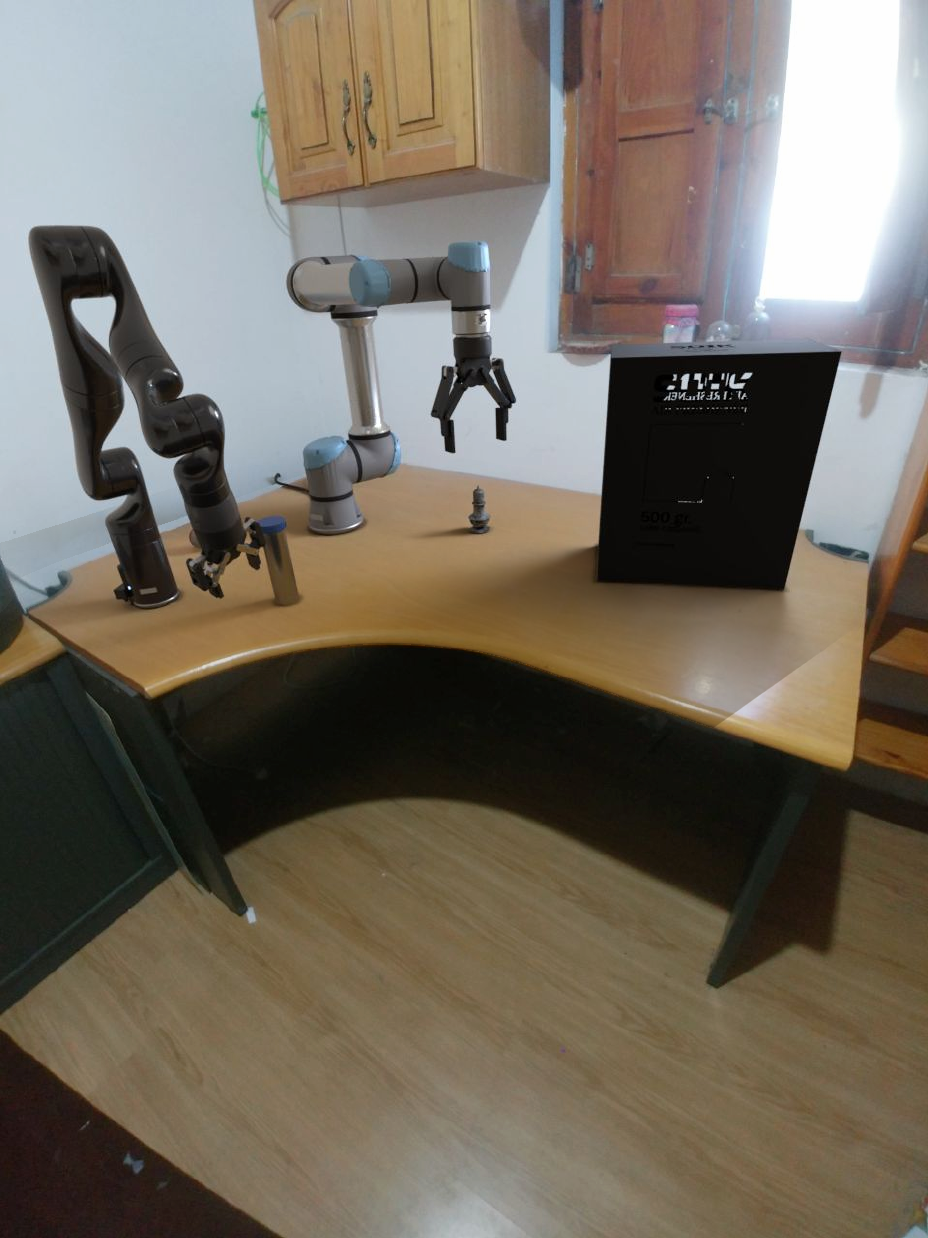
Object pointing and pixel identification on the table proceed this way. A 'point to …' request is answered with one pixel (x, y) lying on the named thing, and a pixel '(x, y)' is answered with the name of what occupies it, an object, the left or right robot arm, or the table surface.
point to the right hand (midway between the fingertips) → (476, 445)
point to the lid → (272, 524)
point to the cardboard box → (710, 460)
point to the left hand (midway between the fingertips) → (237, 581)
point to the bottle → (280, 568)
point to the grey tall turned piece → (479, 513)
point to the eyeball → (194, 539)
